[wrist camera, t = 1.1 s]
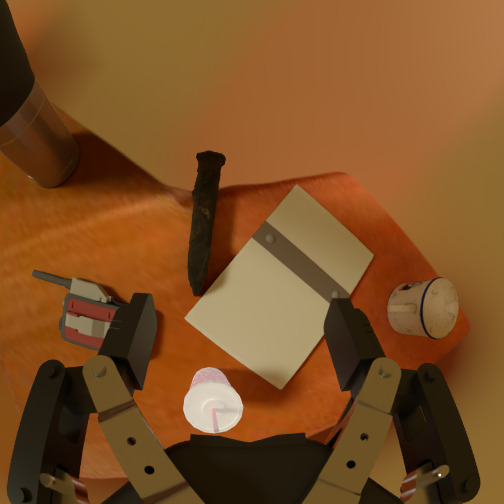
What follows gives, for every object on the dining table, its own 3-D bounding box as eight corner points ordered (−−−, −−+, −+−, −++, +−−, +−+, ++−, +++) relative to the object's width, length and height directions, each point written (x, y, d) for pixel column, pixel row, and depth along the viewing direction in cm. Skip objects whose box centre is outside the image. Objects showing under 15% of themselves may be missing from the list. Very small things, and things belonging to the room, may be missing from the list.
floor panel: (184, 317, 34) (184, 318, 32) (293, 187, 39) (297, 183, 38) (278, 387, 34) (281, 390, 33) (369, 256, 40) (375, 255, 38)
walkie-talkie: (158, 296, 34) (38, 266, 31) (152, 296, 29) (23, 262, 26) (149, 360, 32) (31, 323, 29) (143, 369, 28) (15, 325, 25)
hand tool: (197, 160, 38) (197, 144, 33) (224, 164, 38) (227, 149, 34) (174, 292, 34) (170, 292, 30) (204, 297, 35) (205, 297, 30)
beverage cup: (240, 392, 33) (263, 441, 20) (199, 409, 32) (201, 465, 18) (220, 354, 34) (233, 389, 20) (178, 372, 32) (167, 415, 19)
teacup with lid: (422, 283, 41) (471, 276, 30) (419, 333, 40) (468, 337, 28) (372, 279, 39) (424, 271, 28) (368, 337, 38) (420, 345, 26)
